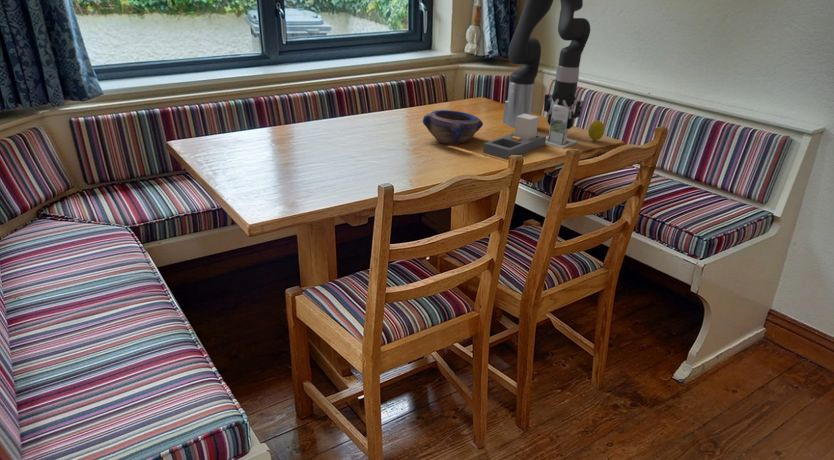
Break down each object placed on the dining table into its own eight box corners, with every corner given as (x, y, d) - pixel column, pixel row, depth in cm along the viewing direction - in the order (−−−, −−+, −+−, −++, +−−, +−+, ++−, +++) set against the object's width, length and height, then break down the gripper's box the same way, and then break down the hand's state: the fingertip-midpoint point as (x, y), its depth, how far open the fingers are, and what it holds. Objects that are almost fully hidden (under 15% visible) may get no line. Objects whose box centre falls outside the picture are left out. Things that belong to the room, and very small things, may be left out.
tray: (537, 144, 220) (537, 140, 219) (551, 138, 227) (551, 134, 226) (562, 150, 214) (563, 146, 213) (576, 145, 221) (576, 141, 220)
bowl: (487, 142, 218) (490, 115, 214) (455, 152, 206) (457, 123, 202) (449, 131, 229) (451, 104, 225) (416, 140, 217) (417, 112, 213)
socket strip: (482, 154, 206) (484, 140, 204) (520, 140, 223) (522, 127, 221) (507, 162, 200) (509, 148, 198) (544, 147, 217) (546, 133, 215)
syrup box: (566, 143, 222) (572, 104, 216) (562, 148, 217) (569, 107, 211) (550, 141, 224) (556, 101, 218) (546, 145, 219) (552, 105, 213)
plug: (513, 144, 215) (516, 116, 210) (521, 141, 219) (524, 113, 214) (526, 147, 212) (530, 119, 207) (534, 144, 216) (538, 116, 211)
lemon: (602, 144, 224) (606, 122, 220) (587, 142, 225) (590, 121, 221) (601, 139, 229) (605, 118, 225) (586, 138, 230) (590, 117, 226)
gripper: (542, 77, 212) (536, 124, 219) (580, 84, 204) (572, 133, 211) (553, 74, 217) (546, 120, 224) (590, 81, 209) (582, 129, 216)
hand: (559, 126), depth 217 cm, fingers closed on syrup box, 6 cm apart
